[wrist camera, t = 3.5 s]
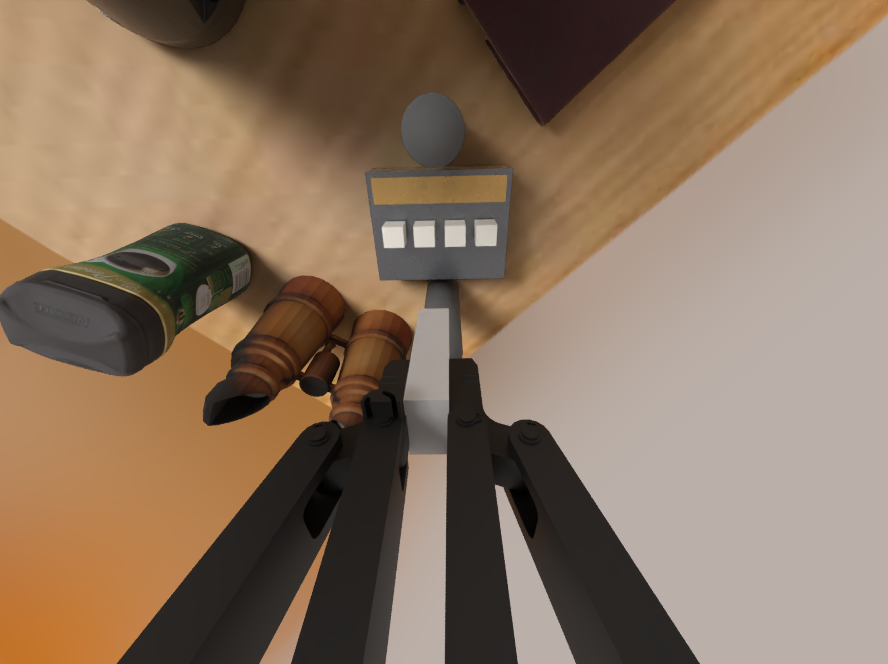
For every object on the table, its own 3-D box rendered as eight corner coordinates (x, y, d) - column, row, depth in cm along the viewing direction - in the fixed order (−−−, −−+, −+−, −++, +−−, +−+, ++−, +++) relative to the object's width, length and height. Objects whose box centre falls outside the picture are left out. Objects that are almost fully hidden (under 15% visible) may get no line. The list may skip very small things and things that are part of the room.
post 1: (417, 109, 31) (398, 93, 19) (458, 108, 31) (465, 91, 19) (419, 156, 33) (404, 168, 21) (458, 155, 33) (464, 167, 21)
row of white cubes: (385, 221, 32) (381, 227, 30) (494, 219, 32) (497, 224, 30) (388, 241, 33) (384, 248, 31) (493, 239, 33) (496, 245, 31)
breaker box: (373, 168, 34) (364, 172, 30) (506, 165, 33) (513, 168, 30) (385, 267, 39) (379, 281, 36) (499, 265, 39) (504, 278, 35)
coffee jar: (172, 272, 40) (-6, 362, 24) (170, 212, 36) (-45, 272, 20) (252, 299, 42) (134, 399, 26) (258, 244, 38) (124, 323, 22)
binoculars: (422, 326, 44) (405, 447, 27) (397, 367, 48) (369, 495, 31) (290, 263, 39) (170, 362, 22) (274, 314, 43) (161, 431, 26)
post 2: (426, 274, 40) (417, 334, 28) (458, 274, 40) (462, 333, 28) (428, 303, 42) (420, 370, 30) (458, 302, 42) (462, 369, 30)
